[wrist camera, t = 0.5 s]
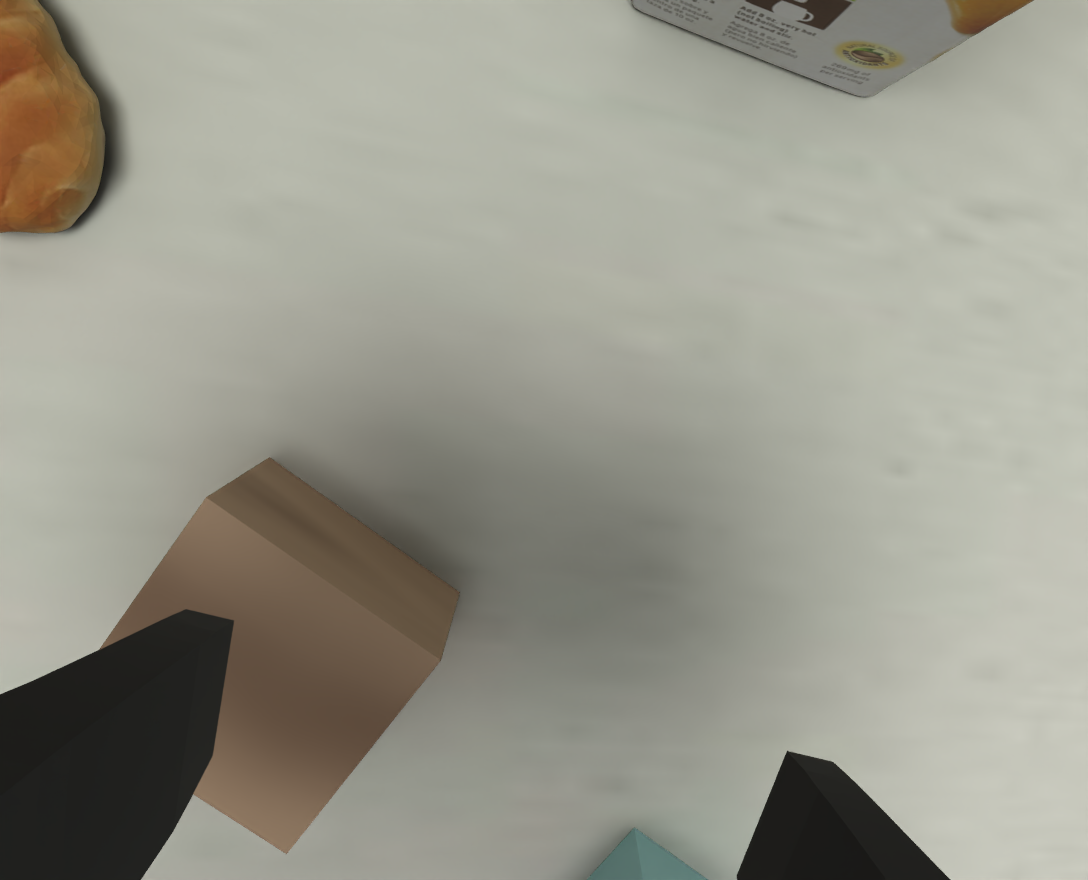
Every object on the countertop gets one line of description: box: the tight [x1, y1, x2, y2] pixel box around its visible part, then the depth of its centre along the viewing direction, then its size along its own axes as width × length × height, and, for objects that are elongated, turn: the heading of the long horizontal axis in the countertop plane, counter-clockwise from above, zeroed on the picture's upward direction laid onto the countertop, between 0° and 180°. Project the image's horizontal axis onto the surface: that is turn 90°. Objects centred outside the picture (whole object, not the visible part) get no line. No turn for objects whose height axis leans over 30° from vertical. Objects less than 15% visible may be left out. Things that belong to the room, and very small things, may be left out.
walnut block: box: [99, 457, 460, 854], centre depth 19 cm, size 6×6×4 cm
